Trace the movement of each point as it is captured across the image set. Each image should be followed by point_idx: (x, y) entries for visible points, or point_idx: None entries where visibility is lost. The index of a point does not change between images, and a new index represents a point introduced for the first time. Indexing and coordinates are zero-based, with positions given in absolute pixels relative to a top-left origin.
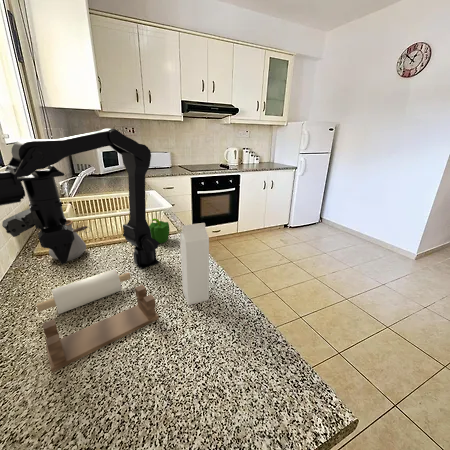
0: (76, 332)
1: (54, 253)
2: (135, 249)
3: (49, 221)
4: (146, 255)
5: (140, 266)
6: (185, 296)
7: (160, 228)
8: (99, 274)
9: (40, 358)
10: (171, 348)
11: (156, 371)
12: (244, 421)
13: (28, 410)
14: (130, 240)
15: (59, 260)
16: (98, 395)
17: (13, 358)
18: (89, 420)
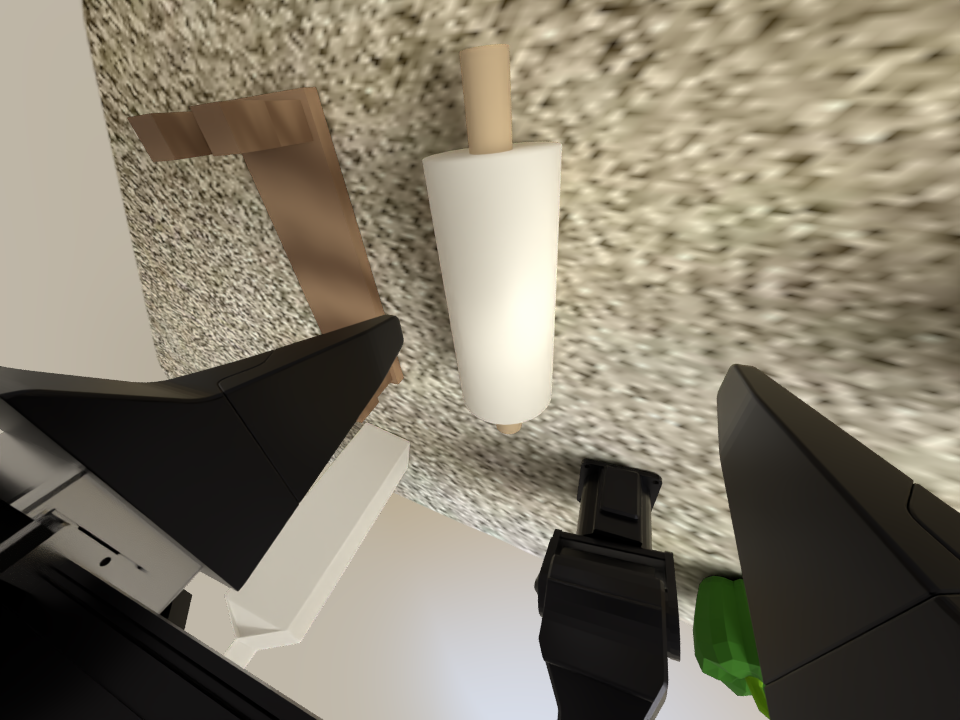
0: (335, 195)
1: (246, 358)
2: (621, 533)
3: None
4: (580, 515)
5: (593, 465)
6: (381, 436)
7: (709, 656)
8: (501, 377)
9: (282, 62)
10: (271, 341)
11: (229, 299)
12: (170, 337)
13: (143, 34)
14: (602, 580)
15: (344, 329)
16: (186, 197)
17: None
18: (145, 170)
